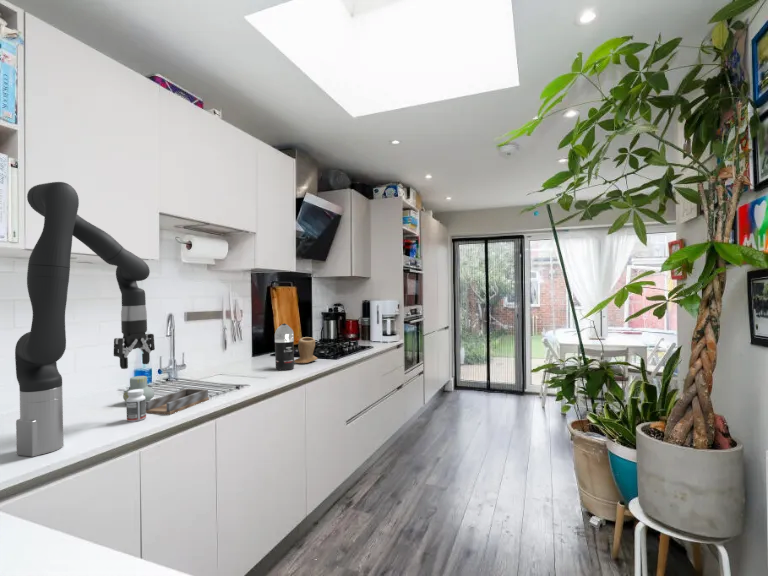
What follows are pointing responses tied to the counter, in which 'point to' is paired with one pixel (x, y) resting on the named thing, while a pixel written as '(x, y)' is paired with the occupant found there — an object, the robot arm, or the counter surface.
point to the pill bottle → (136, 405)
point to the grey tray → (176, 401)
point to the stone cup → (306, 350)
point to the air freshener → (140, 387)
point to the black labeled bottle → (284, 348)
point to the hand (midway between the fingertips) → (135, 366)
